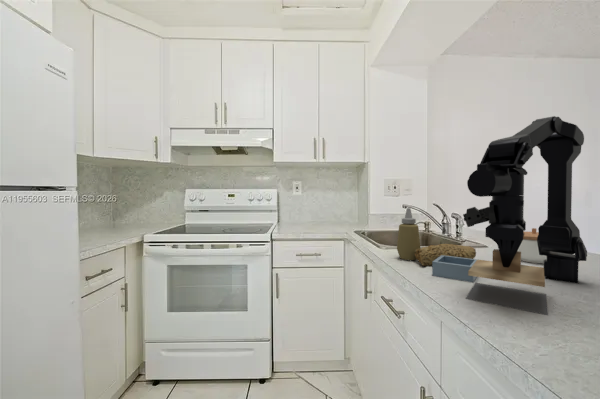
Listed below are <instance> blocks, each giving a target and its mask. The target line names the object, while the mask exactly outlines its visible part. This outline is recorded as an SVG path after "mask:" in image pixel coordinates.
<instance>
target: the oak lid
mask: <svg viewBox="0 0 600 399" xmlns="http://www.w3.org/2000/svg"><path fill="white" fill-rule="evenodd" d="M521 263H522V260H521V252H519V251H517V253H516V254H515V256H514V258H513V260H512V262H511V264H510V266H509V267H503V265H502V261H501V257H500V253H499V249H495V248H494V249H493V250H492V260H485V259H477V261H476V262H475V263H474V264H473V266H472V267H471V268H470V269H469V271H468V276H475V277H477V278H480V279H481V278H482V279H489V280H495V281H503V282H508V283H515V284H521V285H527V286H528V285H529V286H535V287H541V288H546V277H545V276H544V266H543V267H541V266H533V265H525V264H521Z"/></svg>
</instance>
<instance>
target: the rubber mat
mask: <svg viewBox="0 0 600 399" xmlns="http://www.w3.org/2000/svg"><path fill="white" fill-rule="evenodd" d="M547 299H548V298H547V294H546V293H541V292H536V291H530V290H522V289H518V288H517V289H516V288H511V287H506V286H505V287H504V286H499V285H493V284H487V283H481V282H475V283H474V284H473V286H472V287H471V289H470V290H469V292H468V294H467V295H466V297H465V300H469V301H475V302H480V303H483V304H490V305H495V306H500V307H505V308H510V309H515V310H519V311H520V310H521V311H525V312H530V313H535V314H541V315H544V316H549V310H548V300H547Z"/></svg>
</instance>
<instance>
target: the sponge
mask: <svg viewBox="0 0 600 399" xmlns="http://www.w3.org/2000/svg"><path fill="white" fill-rule="evenodd" d="M441 255H445V256H453V257H461V258H469V259H475V258H476V255H477V252H476V248H475V247H472V246H469V245H468V246H467V245H460V244H459V245H458V244H451V243H440V244H437V245H434V244H431V245H427V246H424V247H420V249H416V251H415V256H416V260H417V261H418V262H419V263H420V265H421V266H422V267H429V266H432V262H433V261H434V260H435V259H437V258H438V257H440V256H441Z"/></svg>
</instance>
